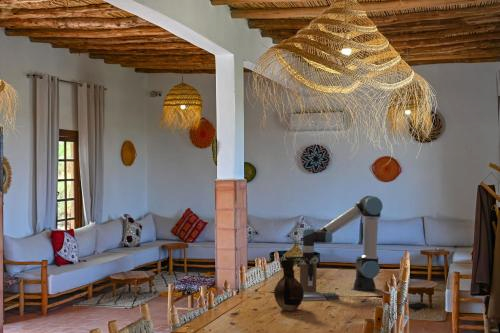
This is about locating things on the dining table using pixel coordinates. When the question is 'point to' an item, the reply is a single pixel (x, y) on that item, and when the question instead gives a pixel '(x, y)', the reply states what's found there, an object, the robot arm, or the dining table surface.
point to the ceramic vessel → (288, 288)
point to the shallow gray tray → (313, 296)
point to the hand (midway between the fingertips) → (308, 284)
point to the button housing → (331, 296)
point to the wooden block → (304, 277)
